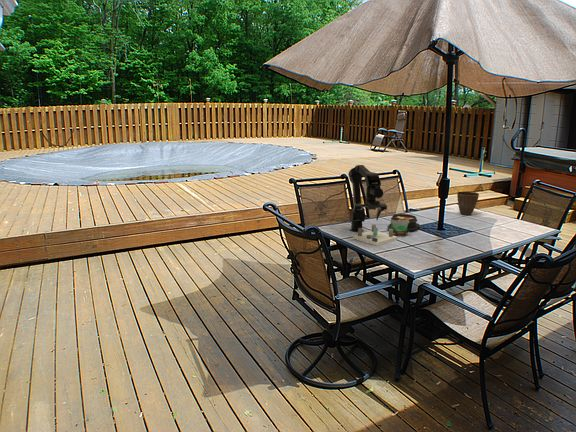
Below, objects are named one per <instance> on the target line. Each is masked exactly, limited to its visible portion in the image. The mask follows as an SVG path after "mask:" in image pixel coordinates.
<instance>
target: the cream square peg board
mask: <svg viewBox="0 0 576 432" xmlns="http://www.w3.org/2000/svg"><path fill="white" fill-rule="evenodd" d="M374 228H377V224H376V223H375V224H374V223H373V224H371V230H368V231H365V232H363V231H362V229H363V227H362V228H358V232H357V234H354V235H353V237H352V239H354V240H356V239H357V241H360V242H363V243H367V244H369V243H370V244H371V245H373V246H377V247H378V246H382V245H384V244H388V243H391V242H394V241H397V240H398V236H394V235H393V229H389V228H388V233H386V232H385V233H384V232H382V231H378V234H377V236H376V237H373V238H371V239H368V238H367V235H373V233H374Z"/></svg>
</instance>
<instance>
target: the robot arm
mask: <svg viewBox="0 0 576 432" xmlns="http://www.w3.org/2000/svg"><path fill="white" fill-rule="evenodd" d="M348 178H349V182H350V183H351V184H352V195H353V196H352V197H353V208H352V209H351V214H350V216H349V221H350V222H351V226H350V227H351V228H350V229H349V230H350V231H353V232H356V233H358V228H362V232H363V231H364V228H363V222H365V220H366V217H367V216H366V212H365V211H366V210H365V208H367V210H369V211H370V210H373V211H374V210H376V221H378V219H379V217H380V214H381V213H382V212H384V211H387V210H388V205H387V204H386V203H385V202H380V200H376V198H377V199H380V198H382V197H383V196H384V190H383V188H381V186H382V182H381V178H380V176H379V174H378V173H377V172H372V171H370V170H369V169H368V168H367V167H366V166H365V165H363V164H357V165H355V166H354V167H352V168H351V169H350V170H349V171H348ZM363 178H364V182H365V183H366V184H365V186H366V191H365V193H366V194H365V204H363V203H362V194H361V193H362V191H361V182H362V180H363Z"/></svg>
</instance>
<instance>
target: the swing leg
mask: <svg viewBox="0 0 576 432" xmlns="http://www.w3.org/2000/svg"><path fill="white" fill-rule="evenodd" d="M378 232H379V228H378V227H376V228H374V233H373V235H367V238H368V239H371V238H373V237H376V236H377V234H378Z"/></svg>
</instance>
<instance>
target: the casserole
mask: <svg viewBox="0 0 576 432" xmlns="http://www.w3.org/2000/svg"><path fill="white" fill-rule="evenodd" d="M407 218H408V219H409V223H408V227H407V232H408V231H413V230H416V229H419V227H420V226H421V224H420V223H417V222H418V219H417V216H415V215H413V214H408V213H397V214H392V216H391V218H390V220H391V219H392V220H399V219H401V220H406V219H407ZM387 229H388V230H389V229H391V223H389V224H388V225H387Z"/></svg>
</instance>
